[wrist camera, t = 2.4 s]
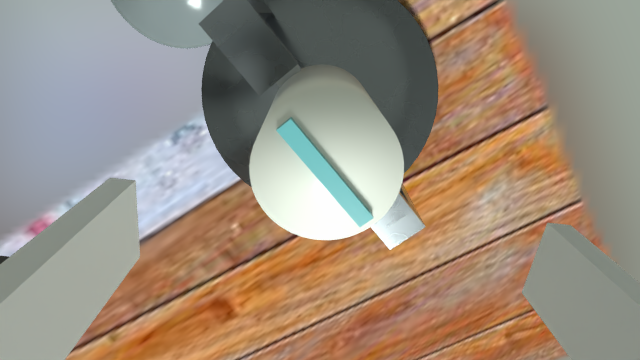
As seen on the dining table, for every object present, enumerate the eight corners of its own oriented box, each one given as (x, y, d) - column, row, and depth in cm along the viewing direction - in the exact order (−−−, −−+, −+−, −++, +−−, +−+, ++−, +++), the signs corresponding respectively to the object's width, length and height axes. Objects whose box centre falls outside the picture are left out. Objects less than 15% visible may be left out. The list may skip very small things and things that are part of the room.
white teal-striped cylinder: (230, 81, 28) (176, 125, 17) (309, 13, 26) (306, 13, 15) (331, 199, 32) (342, 298, 20) (406, 145, 30) (461, 221, 19)
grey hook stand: (154, 82, 33) (90, 110, 23) (342, -89, 28) (357, -141, 19) (303, 241, 38) (301, 315, 29) (478, 119, 34) (541, 159, 25)
